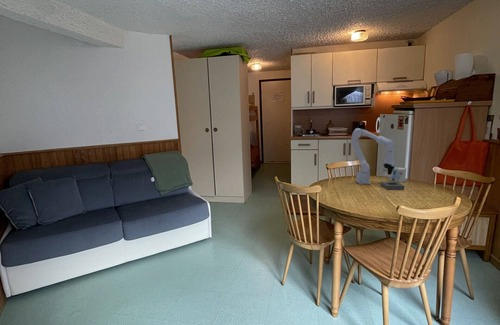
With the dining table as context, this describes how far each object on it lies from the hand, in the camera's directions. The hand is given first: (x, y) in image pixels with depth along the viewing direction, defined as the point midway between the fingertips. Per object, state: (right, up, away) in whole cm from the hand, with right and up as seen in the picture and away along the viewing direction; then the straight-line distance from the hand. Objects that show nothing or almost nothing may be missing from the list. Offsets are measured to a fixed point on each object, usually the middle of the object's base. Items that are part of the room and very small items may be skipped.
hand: (388, 173), depth 209 cm
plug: (0, -2, 0) cm, 2 cm away
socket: (-1, -10, -8) cm, 13 cm away
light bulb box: (+13, -6, +12) cm, 19 cm away
